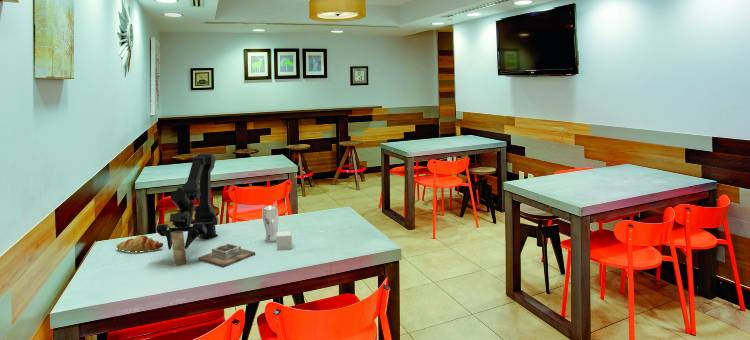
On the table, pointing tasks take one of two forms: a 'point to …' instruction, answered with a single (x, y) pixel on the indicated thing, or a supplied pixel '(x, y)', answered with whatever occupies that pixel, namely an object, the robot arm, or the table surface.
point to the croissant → (139, 244)
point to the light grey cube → (284, 240)
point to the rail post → (178, 247)
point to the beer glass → (270, 222)
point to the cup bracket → (226, 255)
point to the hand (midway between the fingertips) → (177, 248)
